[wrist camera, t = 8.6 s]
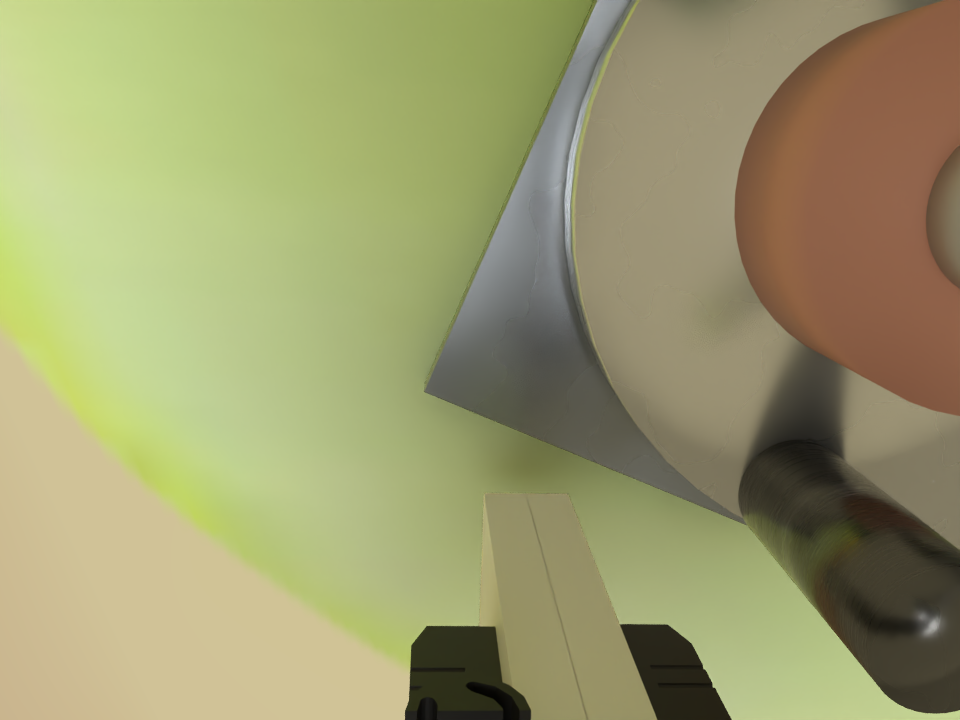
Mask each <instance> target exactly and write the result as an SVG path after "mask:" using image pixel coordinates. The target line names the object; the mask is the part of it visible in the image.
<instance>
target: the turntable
mask: <svg viewBox="0 0 960 720" xmlns="http://www.w3.org/2000/svg"><path fill="white" fill-rule="evenodd" d="M940 1H944V0H632V1H631V2H630V4H629V5H628V7H627V8H626V10H625V11H624V12H623V14H622V15H621V17H620V19H619V21H618V23H617V25H616V27H615V29H614V31H613V32H612V34H611V36H610V38H609V40H608V42H607V44H606V46H605V48H604V50H603V51H602V53H601V55H600V57H599V59H598V61H597V64H596V67H595V69H594V72H593V75H592V77H591V80H590V83H589V85H588V88H587V91H586V93H585V96H584V99H583V101H582V104H581V107H580V111H579V115H578V119H577V123H576V128H575V132H574V136H573V140H572V144H571V148H570V153H569V161H568V170H567V179H566V189H565V198H564V212H565V248H566V255H567V261H568V268H569V275H570V281H571V288H572V292H573V296H574V299H575V303H576V306H577V310H578V313H579V316H580V320H581V323H582V327H583V330H584V333H585V335H586V337H587V340H588V342H589V344H590V346H591V349H592V351H593V353H594V355H595V358H596V360H597V362H598V364H599V367H600V369H601V371H602V373H603V374H604V376H605V377H606V379H607V381H608V382H609V384H610V385H611V387H612V389H613V390H614V392H615V394H616V395H617V397H618V398H619V400H620V402H621V403H622V405H623V406H624V408H625V409H626V411H627V412H628V413H629V415H630V416H631V418H632V419H633V420H634V422H635V423H636V425H637V426H638V427H639V429H640V430H641V431H642V432H643V433H644V435H645V436H646V437H647V438H648V439H649V441H650V442H651V443H652V444H653V445H654V447H655V448H656V449H657V450H658V451H659V453H660V454H661V455H662V456H663V457H664V459H665V460H666V461H667V462H668V463H669V464H670V465H672V466H673V467H674V468H675V469H676V470H677V471H678V472H679V473H680V474H681V475H683V476H684V477H685V478H686V479H687V480H688V481H689V482H690V483H691V484H693V485H694V486H695V487H696V488H697V489H698V490H699V491H701V492H702V493H704V494H705V495H707V496H708V497H710V498H711V499H713V500H714V501H716V502H717V503H719V504H720V505H722V506H723V507H724V508H726V509H727V510H729V511H730V512H732V513H733V514H735V515H737V516H739V517H741V518H743V519H744V521H745V522H746V524H747V525H748V526H749V528H750V529H751V530H752V531H753V533H754V534H755V535H756V536H757V537H758V539H759V540H760V541H761V542H762V544H763V545H764V546H765V547H766V549H767V550H768V551H769V552H770V553H771V555H772V556H773V557H774V558H775V560H776V561H777V562H778V563H779V564H780V566H781V567H782V568H783V569H784V571H785V572H786V573H787V574H788V576H789V577H790V578H791V579H792V580H793V582H794V583H795V584H796V585H797V587H798V588H799V589H800V590H801V591H802V593H803V594H804V595H805V596H806V598H807V599H808V600H809V601H810V603H811V604H812V605H813V606H814V607H815V609H816V610H817V611H818V612H819V614H820V615H821V616H822V617H823V618H824V620H825V621H826V622H827V623H828V625H829V626H830V627H831V628H832V630H833V631H834V632H835V633H836V634H837V636H838V637H839V638H840V639H841V641H842V642H843V643H844V644H845V646H846V647H847V648H848V649H849V650H850V652H851V653H852V654H853V655H854V657H855V658H856V659H857V660H858V661H859V663H860V664H861V665H862V666H863V668H864V669H865V670H866V671H867V673H868V674H869V675H870V676H871V677H872V679H873V680H874V681H875V682H876V684H877V685H878V686H879V687H880V688H881V690H882V691H883V692H884V693H885V694H886V695H887V696H888V697H889V698H890V699H891V700H893V701H895V702H896V703H898V704H899V705H901V706H903V707H905V708H908V709H911V710H914V711H918V712H923V713H948V712H953V711H958V710H960V416H956V415H952V414H947V413H942V412H938V411H933V410H930V409H928V408H925V407H922V406H919V405H917V404H914V403H911V402H909V401H907V400H905V399H903V398H901V397H899V396H898V395H896V394H894V393H892V392H890V391H888V390H886V389H885V388H883V387H881V386H879V385H877V384H875V383H873V382H872V381H870V380H868V379H866V378H864V377H862V376H860V375H859V374H857V373H855V372H853V371H851V370H849V369H848V368H846V367H844V366H842V365H840V364H838V363H836V362H835V361H833V360H831V359H829V358H827V357H825V356H824V355H822V354H820V353H818V352H816V351H814V350H812V349H811V348H809V347H807V346H805V345H804V344H802V343H801V342H800V341H798V340H797V339H796V338H794V337H793V336H791V335H790V334H789V333H788V332H787V331H786V330H785V329H784V328H783V327H781V326H780V325H779V324H778V323H777V322H776V321H775V320H774V319H773V317H772V316H771V315H770V313H769V312H768V311H767V310H766V308H765V307H764V306H763V304H762V303H761V302H760V300H759V298H758V296H757V295H756V293H755V291H754V289H753V287H752V286H751V284H750V282H749V279H748V277H747V274H746V271H745V269H744V266H743V264H742V260H741V256H740V252H739V248H738V244H737V238H736V229H735V219H734V213H735V191H736V185H737V178H738V172H739V168H740V164H741V161H742V157H743V154H744V150H745V147H746V145H747V142H748V140H749V137H750V135H751V133H752V130H753V128H754V126H755V124H756V122H757V120H758V118H759V117H760V115H761V113H762V111H763V110H764V108H765V106H766V104H767V103H768V101H769V100H770V99H771V97H772V96H773V95H774V93H775V92H776V91H777V89H778V88H779V87H780V85H781V84H782V83H783V82H784V81H785V79H786V78H787V77H788V76H789V75H790V74H791V73H792V72H793V71H794V70H795V69H796V68H797V67H798V66H799V65H800V64H801V63H802V62H803V61H805V60H806V59H807V58H808V57H809V56H811V55H812V54H813V53H814V52H816V51H817V50H818V49H819V48H821V47H822V46H824V45H826V44H827V43H829V42H830V41H832V40H833V39H835V38H837V37H838V36H840V35H842V34H844V33H846V32H848V31H850V30H852V29H855V28H857V27H859V26H861V25H864V24H867V23H870V22H873V21H876V20H879V19H882V18H886V17H889V16H892V15H896V14H899V13H903V12H906V11H909V10H913V9H916V8H920V7H923V6H927V5H930V4H933V3H937V2H940Z"/></svg>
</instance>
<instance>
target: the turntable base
mask: <svg viewBox="0 0 960 720" xmlns="http://www.w3.org/2000/svg"><path fill="white" fill-rule="evenodd" d="M631 1H632V0H594V1H593V3H592V6H591V8H590V10H589V12H588V15H587V17H586V19H585V22H584V24H583V26H582V28H581V31H580V33H579V35H578V37H577V40H576V42H575V44H574V46H573V49H572V51H571V53H570V55H569V58H568V60H567V62H566V64H565V67H564V69H563V71H562V74H561V76H560V78H559V80H558V83H557V85H556V87H555V89H554V92H553V94H552V96H551V98H550V101H549V103H548V105H547V107H546V110H545V112H544V114H543V116H542V119H541V121H540V123H539V126H538V128H537V130H536V132H535V135H534V137H533V139H532V141H531V144H530V146H529V148H528V150H527V153H526V155H525V157H524V159H523V162H522V164H521V166H520V168H519V171H518V173H517V175H516V178H515V180H514V182H513V184H512V187H511V189H510V191H509V193H508V196H507V198H506V200H505V202H504V205H503V207H502V209H501V211H500V214H499V216H498V218H497V221H496V223H495V225H494V227H493V230H492V232H491V234H490V236H489V239H488V241H487V243H486V245H485V248H484V250H483V252H482V254H481V257H480V259H479V261H478V263H477V266H476V268H475V270H474V273H473V275H472V277H471V279H470V282H469V284H468V286H467V288H466V291H465V293H464V295H463V297H462V300H461V302H460V304H459V306H458V309H457V311H456V313H455V315H454V318H453V320H452V322H451V325H450V327H449V329H448V331H447V334H446V336H445V338H444V340H443V343H442V345H441V347H440V349H439V352H438V354H437V356H436V358H435V361H434V363H433V365H432V367H431V370H430V372H429V374H428V377H427V379H426V381H425V386H424V392H426V393H428V394H430V395H433V396H435V397H438V398H440V399H443V400H445V401H447V402H450V403H452V404H455V405H457V406H460V407H462V408H464V409H467V410H469V411H472V412H474V413H477V414H479V415H481V416H484V417H486V418H489V419H491V420H493V421H496V422H498V423H501V424H503V425H506V426H508V427H510V428H513V429H515V430H518V431H520V432H523V433H525V434H527V435H530V436H532V437H535V438H537V439H540V440H542V441H544V442H547V443H549V444H552V445H554V446H556V447H559V448H561V449H564V450H566V451H569V452H571V453H573V454H576V455H578V456H581V457H583V458H586V459H588V460H590V461H593V462H595V463H598V464H600V465H602V466H605V467H607V468H610V469H612V470H615V471H617V472H619V473H622V474H624V475H627V476H629V477H632V478H634V479H636V480H639V481H641V482H644V483H646V484H649V485H651V486H653V487H656V488H658V489H661V490H663V491H665V492H668V493H670V494H673V495H675V496H678V497H680V498H682V499H685V500H687V501H690V502H692V503H695V504H697V505H699V506H702V507H704V508H707V509H709V510H712V511H714V512H716V513H719V514H721V515H724V516H726V517H728V518H731V519H733V520H736V521H738V522H741V523H743V524H745V525H747V524H746V522H745V521H744V519H743V518H741V517H739V516H737V515H735V514H733V513H732V512H730V511H729V510H727V509H726V508H724V507H723V506H722V505H720V504H719V503H717V502H716V501H714V500H713V499H711V498H710V497H708V496H707V495H705V494H704V493H702V492H701V491H699V490H698V489H697V488H696V487H695V486H694V485H693V484H691V483H690V482H689V481H688V480H687V479H686V478H685V477H684V476H683V475H681V474H680V473H679V472H678V471H677V470H676V469H675V468H674V467H673V466H672V465H670V464H669V463H668V462H667V461H666V460H665V459H664V457H663V456H662V455H661V454H660V453H659V451H658V450H657V449H656V448H655V447H654V445H653V444H652V443H651V442H650V441H649V439H648V438H647V437H646V436H645V435H644V433H643V432H642V431H641V430H640V429H639V427H638V426H637V425H636V423H635V422H634V420H633V419H632V418H631V416H630V415H629V413H628V412H627V411H626V409H625V408H624V406H623V405H622V403H621V402H620V400H619V398H618V397H617V395H616V394H615V392H614V390H613V389H612V387H611V385H610V384H609V382H608V381H607V379H606V377H605V376H604V374H603V373H602V371H601V369H600V367H599V364H598V362H597V360H596V358H595V355H594V353H593V351H592V349H591V346H590V344H589V342H588V340H587V337H586V335H585V333H584V330H583V327H582V323H581V320H580V316H579V313H578V310H577V306H576V303H575V299H574V296H573V292H572V288H571V281H570V275H569V268H568V261H567V255H566V248H565V212H564V198H565V189H566V179H567V170H568V161H569V153H570V148H571V144H572V140H573V136H574V132H575V128H576V123H577V119H578V115H579V111H580V107H581V104H582V101H583V99H584V96H585V93H586V91H587V88H588V85H589V83H590V80H591V77H592V75H593V72H594V69H595V67H596V64H597V61H598V59H599V57H600V55H601V53H602V51H603V50H604V48H605V46H606V44H607V42H608V40H609V38H610V36H611V34H612V32H613V31H614V29H615V27H616V25H617V23H618V21H619V19H620V17H621V15H622V14H623V12H624V11H625V10H626V8H627V7H628V5H629V4H630V2H631Z"/></svg>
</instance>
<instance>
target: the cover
mask: <svg viewBox="0 0 960 720" xmlns="http://www.w3.org/2000/svg"><path fill="white" fill-rule="evenodd" d="M734 219H735V229H736V238H737V244H738V248H739V252H740V256H741V260H742V264H743V266H744V269H745V271H746V274H747V277H748V279H749V282H750V284H751V286H752V287H753V289H754V291H755V293H756V295H757V296H758V298H759V300H760V302H761V303H762V304H763V306H764V307H765V308H766V310H767V311H768V312H769V313H770V315H771V316H772V317H773V319H774V320H775V321H776V322H777V323H778V324H779V325H780V326H781V327H783V328H784V329H785V330H786V331H787V332H788V333H789V334H790V335H791V336H793V337H794V338H796V339H797V340H798V341H800V342H801V343H802V344H804V345H805V346H807V347H809V348H811V349H812V350H814V351H816V352H818V353H820V354H822V355H824V356H825V357H827V358H829V359H831V360H833V361H835V362H836V363H838V364H840V365H842V366H844V367H846V368H848V369H849V370H851V371H853V372H855V373H857V374H859V375H860V376H862V377H864V378H866V379H868V380H870V381H872V382H873V383H875V384H877V385H879V386H881V387H883V388H885V389H886V390H888V391H890V392H892V393H894V394H896V395H898V396H899V397H901V398H903V399H905V400H907V401H909V402H911V403H914V404H917V405H919V406H922V407H925V408H928V409H930V410H933V411H938V412H942V413H947V414H952V415H956V416H960V0H944V1H940V2H937V3H933V4H930V5H927V6H923V7H920V8H916V9H913V10H909V11H906V12H903V13H899V14H896V15H892V16H889V17H886V18H882V19H879V20H876V21H873V22H870V23H867V24H864V25H861V26H859V27H857V28H855V29H852V30H850V31H848V32H846V33H844V34H842V35H840V36H838V37H837V38H835V39H833V40H832V41H830V42H829V43H827V44H826V45H824V46H822V47H821V48H819V49H818V50H817V51H816V52H814V53H813V54H812V55H811V56H809V57H808V58H807V59H806V60H805V61H803V62H802V63H801V64H800V65H799V66H798V67H797V68H796V69H795V70H794V71H793V72H792V73H791V74H790V75H789V76H788V77H787V78H786V79H785V81H784V82H783V83H782V84H781V85H780V87H779V88H778V89H777V91H776V92H775V93H774V95H773V96H772V97H771V99H770V100H769V101H768V103H767V104H766V106H765V108H764V110H763V111H762V113H761V115H760V117H759V118H758V120H757V122H756V124H755V126H754V128H753V130H752V133H751V135H750V137H749V140H748V142H747V145H746V147H745V150H744V154H743V157H742V161H741V164H740V168H739V172H738V178H737V185H736V191H735V213H734Z"/></svg>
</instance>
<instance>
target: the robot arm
mask: <svg viewBox="0 0 960 720" xmlns="http://www.w3.org/2000/svg"><path fill="white" fill-rule="evenodd" d="M405 720H731V718H730V716H729V714H728V712H727V710H726V708H725V706H724V704H723V703H722V701H721V699H720V697H719V695H718V693H717V691H716V689H715V688H713V687H712V682H711V680H710V678H709V676H708V674H707V672H706V670H703V665H702V663H701V661H700V659H699V657H698V655H697V653H696V651H695V649H694V647H693V646H692V644H691V643H690V642H689V641H688V640H686V639H685V638H684V637H683V636H681V635H680V634H679V633H678V632H676V631H675V630H674V629H672V628H671V627H670V626H669V625H647V624H619V622H618V619H617V617H616V614H615V611H614V609H613V606H612V604H611V601H610V599H609V596H608V594H607V591H606V589H605V586H604V584H603V581H602V579H601V576H600V574H599V571H598V568H597V566H596V563H595V561H594V558H593V556H592V553H591V551H590V548H589V546H588V543H587V541H586V538H585V536H584V533H583V531H582V528H581V525H580V523H579V520H578V518H577V515H576V513H575V510H574V508H573V505H572V503H571V500H570V498H569V495H568V494H557V493H484V500H483V528H482V556H481V584H480V611H479V626H427V627H426V628H425V629H424V630H423V632H422V633H421V634H420V635H419V637H418V638H417V639H416V640H415V642H414V643H413V644H412V646H411V669H410V691H409V702H408V705H407V708H406V710H405Z"/></svg>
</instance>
